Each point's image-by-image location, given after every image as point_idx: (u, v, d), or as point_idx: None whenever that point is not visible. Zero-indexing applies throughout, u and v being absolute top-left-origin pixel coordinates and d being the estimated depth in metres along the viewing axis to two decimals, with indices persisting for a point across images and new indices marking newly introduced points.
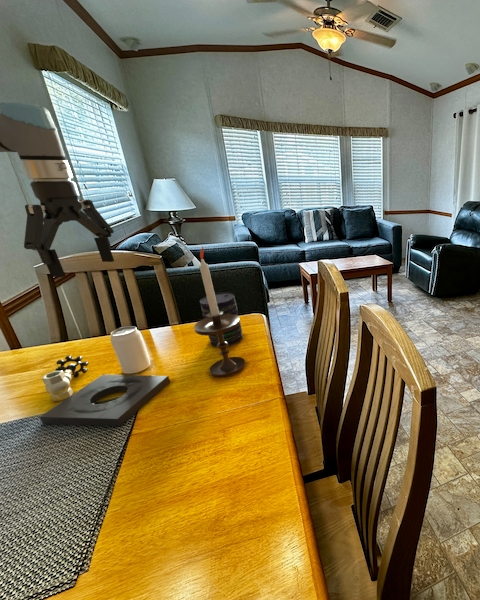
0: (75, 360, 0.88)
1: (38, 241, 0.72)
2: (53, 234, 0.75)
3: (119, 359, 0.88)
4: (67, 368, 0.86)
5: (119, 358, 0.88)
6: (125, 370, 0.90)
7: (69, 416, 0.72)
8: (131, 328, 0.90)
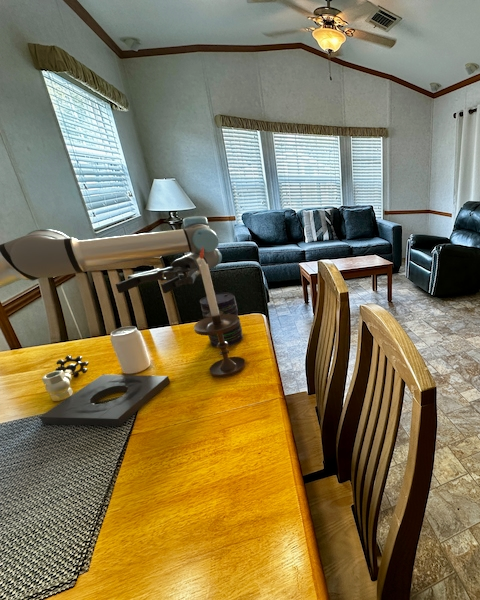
0: (75, 360, 0.88)
1: None
2: None
3: (119, 359, 0.88)
4: (67, 368, 0.86)
5: (119, 358, 0.88)
6: (125, 370, 0.90)
7: (69, 416, 0.72)
8: (131, 328, 0.90)
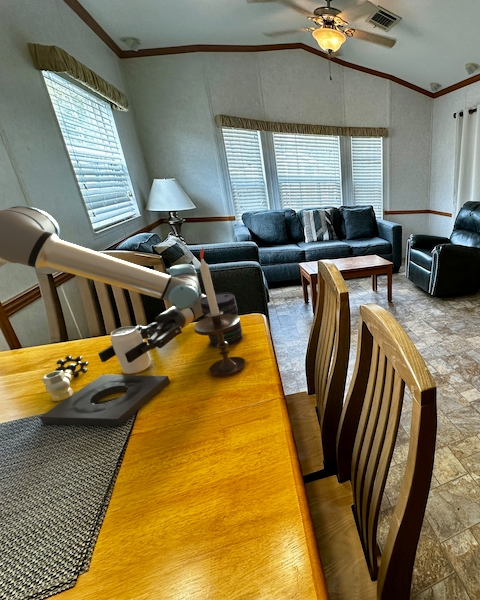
0: (75, 360, 0.88)
1: None
2: None
3: (119, 359, 0.88)
4: (67, 368, 0.86)
5: (119, 358, 0.88)
6: (125, 370, 0.90)
7: (69, 416, 0.72)
8: (131, 328, 0.90)
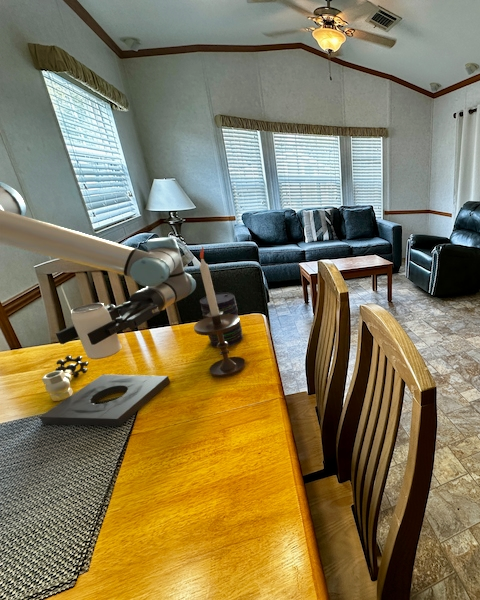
0: (75, 360, 0.88)
1: None
2: None
3: (82, 341, 0.75)
4: (67, 368, 0.86)
5: (82, 340, 0.75)
6: (90, 354, 0.76)
7: (69, 416, 0.72)
8: (97, 305, 0.77)
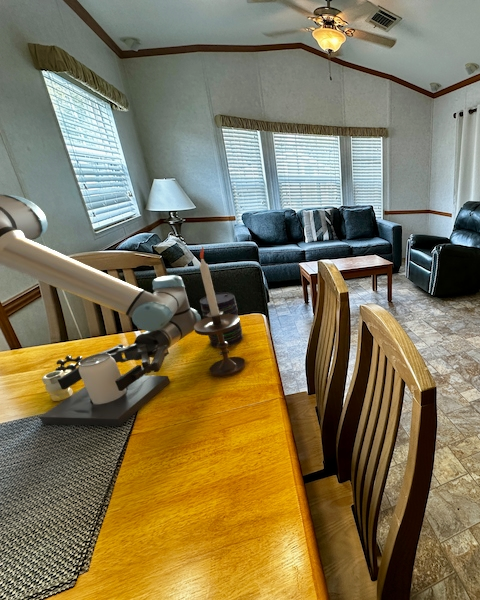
0: (75, 360, 0.88)
1: None
2: None
3: (89, 392, 0.75)
4: (67, 368, 0.86)
5: (89, 391, 0.75)
6: None
7: (69, 416, 0.72)
8: (104, 355, 0.77)
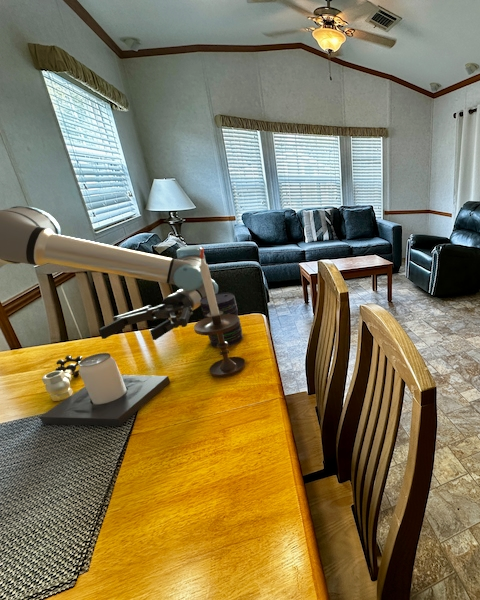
0: (75, 360, 0.88)
1: None
2: None
3: (89, 392, 0.75)
4: (67, 368, 0.86)
5: (89, 391, 0.75)
6: None
7: (69, 416, 0.72)
8: (104, 355, 0.77)
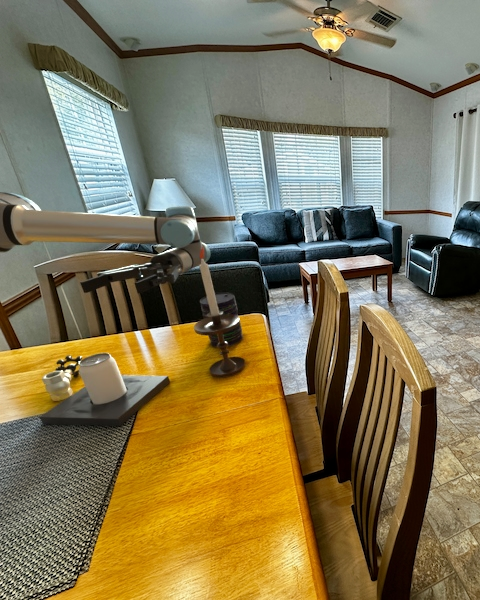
0: (75, 360, 0.88)
1: None
2: None
3: (89, 392, 0.75)
4: (67, 368, 0.86)
5: (89, 391, 0.75)
6: None
7: (69, 416, 0.72)
8: (104, 355, 0.77)
